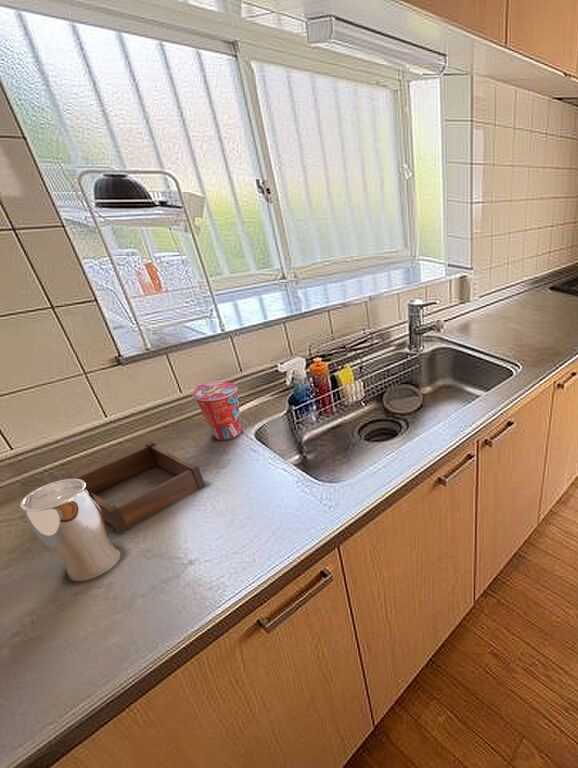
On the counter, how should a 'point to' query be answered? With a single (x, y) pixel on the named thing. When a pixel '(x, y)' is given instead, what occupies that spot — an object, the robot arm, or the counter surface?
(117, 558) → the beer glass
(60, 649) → the counter surface
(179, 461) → the tray
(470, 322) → the counter surface
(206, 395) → the cup
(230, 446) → the counter surface
